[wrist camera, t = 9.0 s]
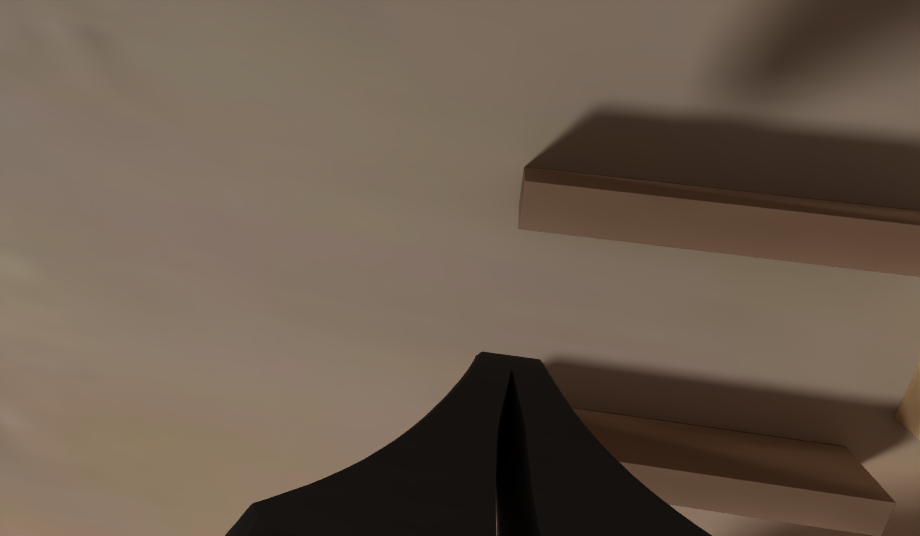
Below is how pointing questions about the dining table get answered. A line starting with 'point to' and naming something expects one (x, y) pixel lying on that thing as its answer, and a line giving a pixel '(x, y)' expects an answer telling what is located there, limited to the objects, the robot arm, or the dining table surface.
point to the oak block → (911, 406)
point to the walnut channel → (747, 234)
